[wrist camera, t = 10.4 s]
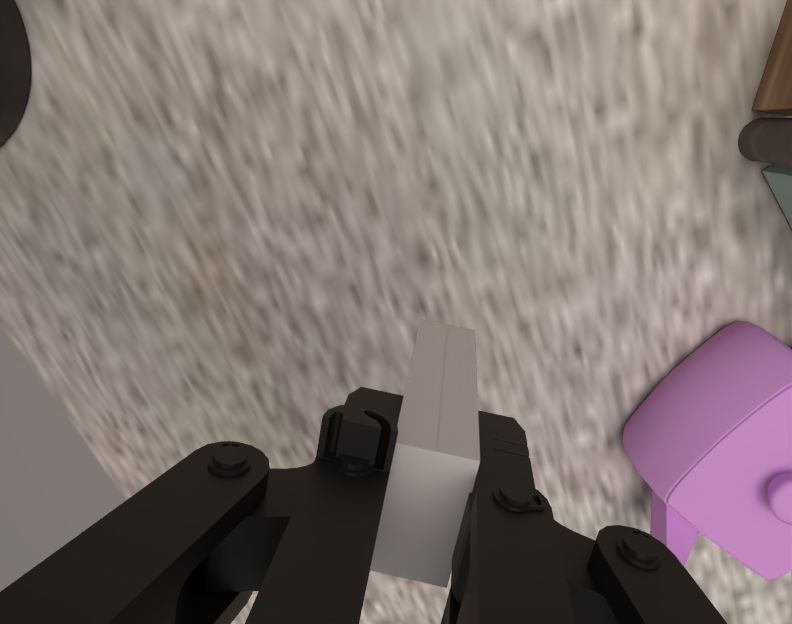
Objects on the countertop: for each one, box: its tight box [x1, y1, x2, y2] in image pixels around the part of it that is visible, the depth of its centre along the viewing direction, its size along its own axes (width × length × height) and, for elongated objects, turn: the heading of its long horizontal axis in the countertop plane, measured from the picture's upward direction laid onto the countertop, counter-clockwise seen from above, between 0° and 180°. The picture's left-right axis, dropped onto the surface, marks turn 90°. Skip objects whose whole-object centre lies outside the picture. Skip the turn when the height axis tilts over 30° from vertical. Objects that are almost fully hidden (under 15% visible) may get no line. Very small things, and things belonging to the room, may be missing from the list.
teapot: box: [623, 322, 792, 580], centre depth 36 cm, size 18×10×10 cm, turn 143°
